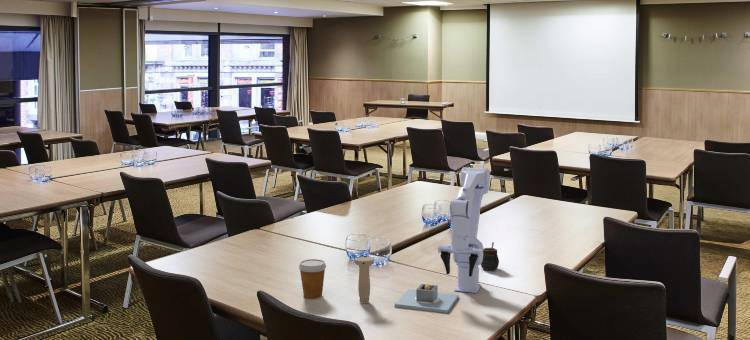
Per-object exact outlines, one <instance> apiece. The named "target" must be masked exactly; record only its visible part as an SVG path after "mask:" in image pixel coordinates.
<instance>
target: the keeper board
mask: <svg viewBox="0 0 750 340" xmlns="http://www.w3.org/2000/svg"><path fill="white" fill-rule="evenodd" d="M429 285H430V284H427V285H426V286H425V290H430V286H429ZM416 290H417V289H408V288H407V290H406V291H405V292H404V293H403V294H402V295H401V297H399V298H398V300H396V302H395V303H394V307H395V308H402V309H410V310H417V311H418V310H419V311H427V312H434V313H435V312H436V313H442V314H443V313H444V314H448V313H450V311H451V309H452V308H453V307H454V305H455V303H456V302H457V300H458V299H459V296H460V295H459V294H454V293H446V292H445V293H444V292H438V295H437V298H436V299H435V301H434V302H433V303H428V302H420V301H416Z"/></svg>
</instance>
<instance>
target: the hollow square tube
mask: <svg viewBox="0 0 750 340" xmlns="http://www.w3.org/2000/svg"><path fill="white" fill-rule="evenodd" d="M426 285H429V286H430V290H425V286H426ZM438 286H439V285H437V284H436V285H435V284H425V283H421V284H420V285H419V286H417V288H416V289H415V290H416V301H420V302H428V303H433V302H434V301H435V299H436V298H437V295H438V291H439V290H438V288H439V287H438Z"/></svg>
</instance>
